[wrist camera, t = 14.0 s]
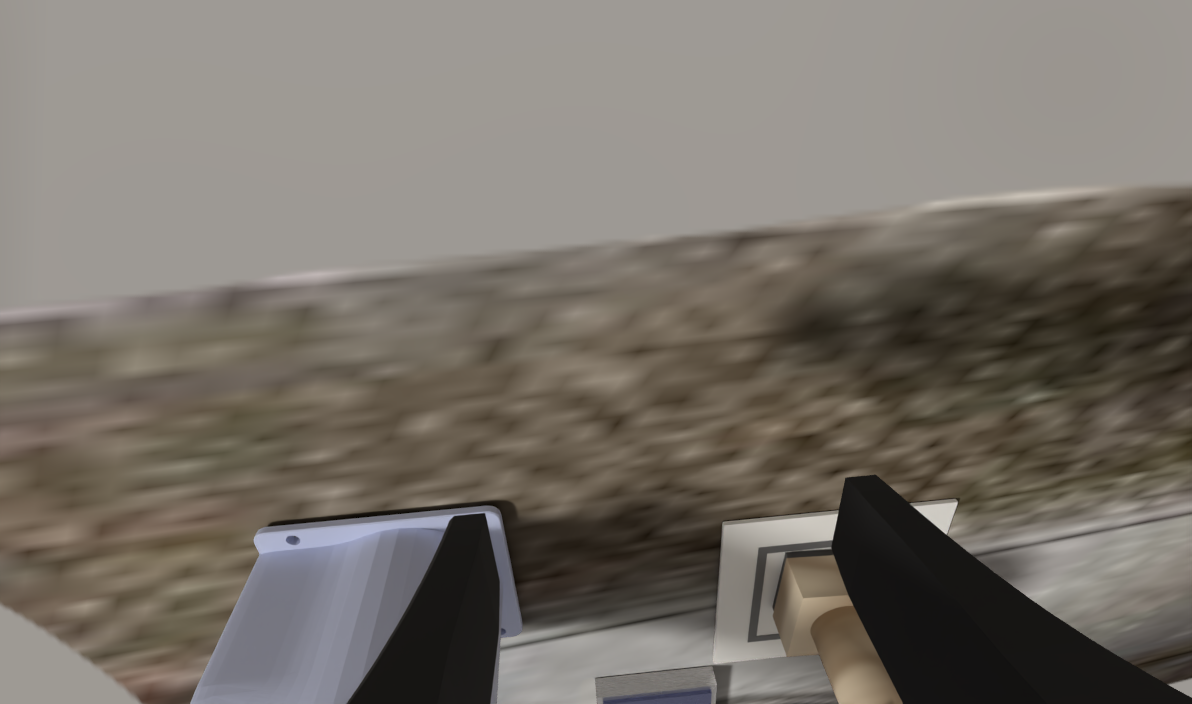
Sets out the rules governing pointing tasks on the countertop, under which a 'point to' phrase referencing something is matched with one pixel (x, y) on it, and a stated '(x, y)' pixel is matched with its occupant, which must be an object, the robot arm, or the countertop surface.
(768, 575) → the paper
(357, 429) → the countertop surface
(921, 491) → the countertop surface
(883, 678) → the stamp
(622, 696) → the ink pad
